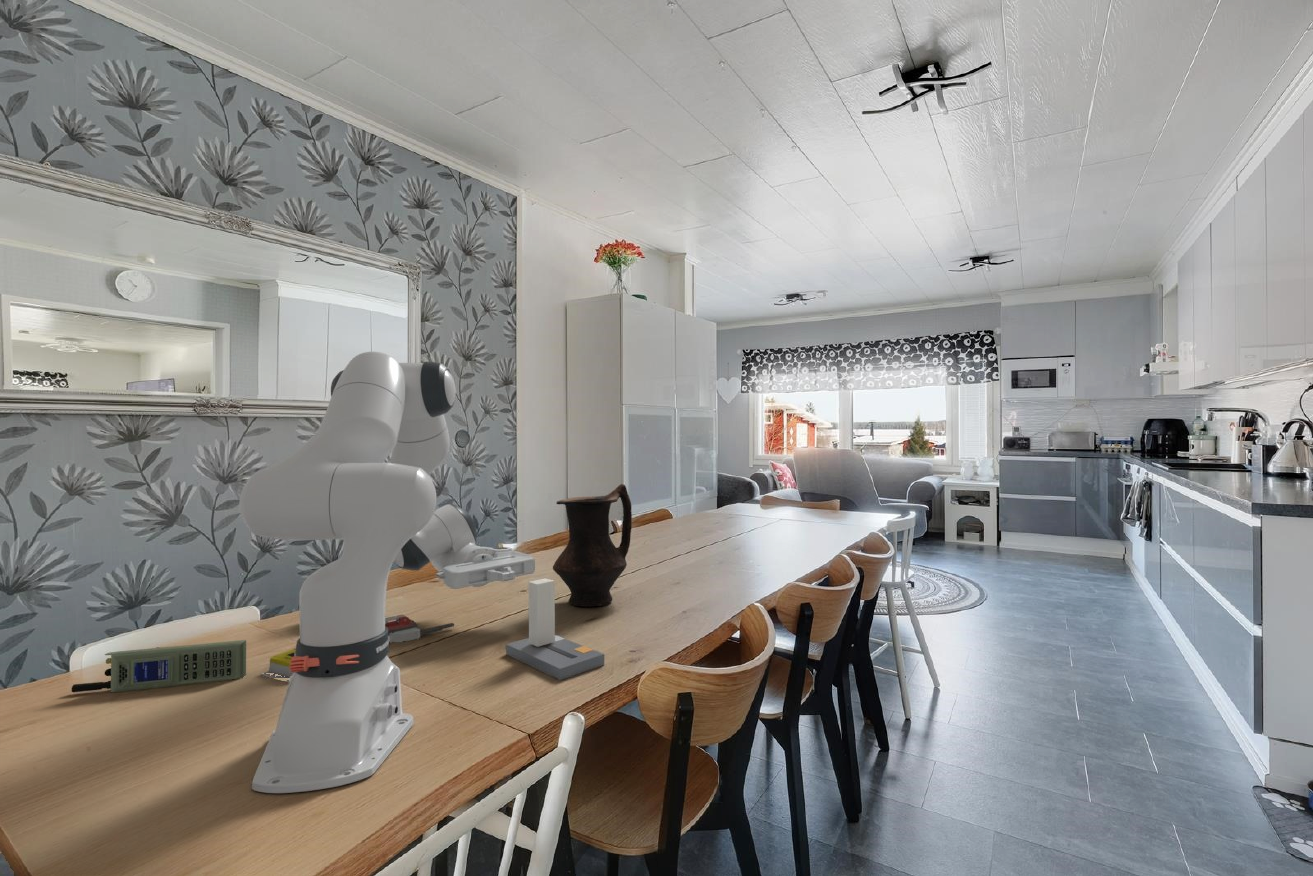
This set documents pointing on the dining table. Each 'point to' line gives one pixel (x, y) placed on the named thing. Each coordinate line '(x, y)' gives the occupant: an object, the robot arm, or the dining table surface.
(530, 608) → the switch tab
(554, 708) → the dining table surface
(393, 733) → the robot arm
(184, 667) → the handheld radio
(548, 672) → the switch panel
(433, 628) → the walkie-talkie
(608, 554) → the jug
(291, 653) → the emergency button
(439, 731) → the dining table surface
